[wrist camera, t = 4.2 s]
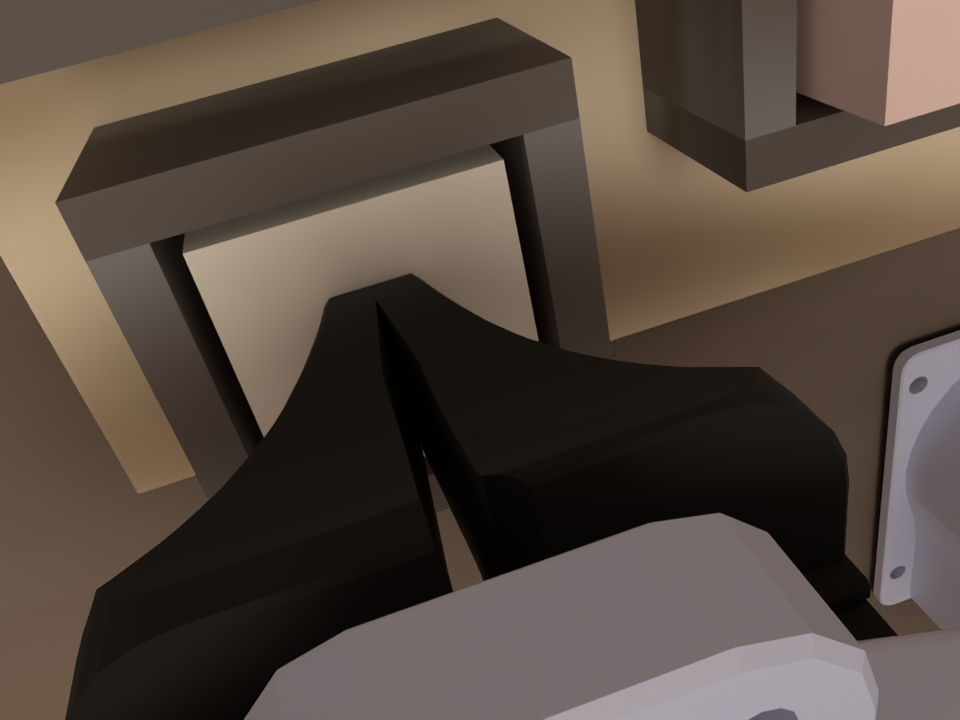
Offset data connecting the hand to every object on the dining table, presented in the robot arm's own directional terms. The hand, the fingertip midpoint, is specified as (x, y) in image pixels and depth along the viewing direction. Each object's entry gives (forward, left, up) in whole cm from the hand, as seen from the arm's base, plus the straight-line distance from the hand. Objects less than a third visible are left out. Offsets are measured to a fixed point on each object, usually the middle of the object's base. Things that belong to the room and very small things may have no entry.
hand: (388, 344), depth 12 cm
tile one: (0, 0, -3) cm, 3 cm away
